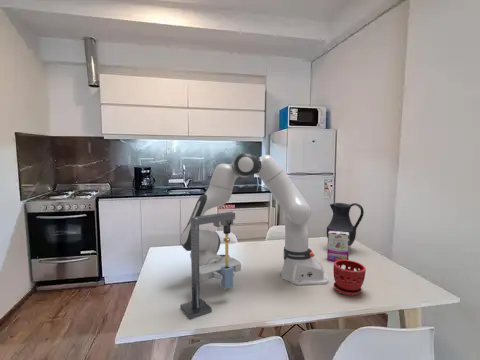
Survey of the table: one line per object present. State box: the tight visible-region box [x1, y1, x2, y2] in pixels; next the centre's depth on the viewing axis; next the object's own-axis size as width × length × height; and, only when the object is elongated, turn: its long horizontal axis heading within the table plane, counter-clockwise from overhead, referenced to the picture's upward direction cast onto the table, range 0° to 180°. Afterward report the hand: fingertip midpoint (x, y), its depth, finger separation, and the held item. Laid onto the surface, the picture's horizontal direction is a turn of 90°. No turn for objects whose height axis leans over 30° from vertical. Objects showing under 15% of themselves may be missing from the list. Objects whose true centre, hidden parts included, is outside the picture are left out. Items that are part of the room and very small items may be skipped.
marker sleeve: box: [220, 265, 234, 289], centre depth 121 cm, size 4×4×8 cm
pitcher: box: [326, 202, 364, 248], centre depth 179 cm, size 17×21×30 cm
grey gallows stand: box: [179, 211, 236, 320], centre depth 116 cm, size 22×9×36 cm, turn 124°
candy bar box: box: [326, 231, 350, 263], centre depth 164 cm, size 11×5×16 cm, turn 68°
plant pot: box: [332, 260, 367, 296], centre depth 130 cm, size 13×13×12 cm
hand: (228, 276), depth 120 cm, fingers closed on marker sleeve, 4 cm apart
